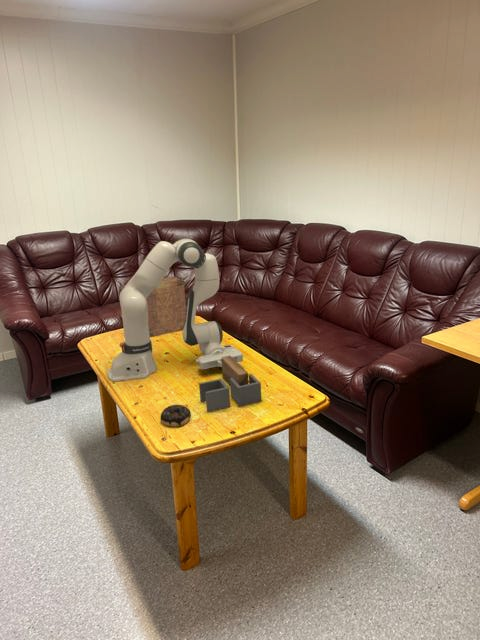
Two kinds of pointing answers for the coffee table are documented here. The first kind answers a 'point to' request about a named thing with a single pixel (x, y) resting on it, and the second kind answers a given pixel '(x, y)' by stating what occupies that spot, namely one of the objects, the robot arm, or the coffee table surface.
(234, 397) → the end cap
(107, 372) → the robot arm
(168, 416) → the donut
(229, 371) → the slat
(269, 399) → the coffee table surface
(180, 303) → the book
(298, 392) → the coffee table surface
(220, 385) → the end cap
